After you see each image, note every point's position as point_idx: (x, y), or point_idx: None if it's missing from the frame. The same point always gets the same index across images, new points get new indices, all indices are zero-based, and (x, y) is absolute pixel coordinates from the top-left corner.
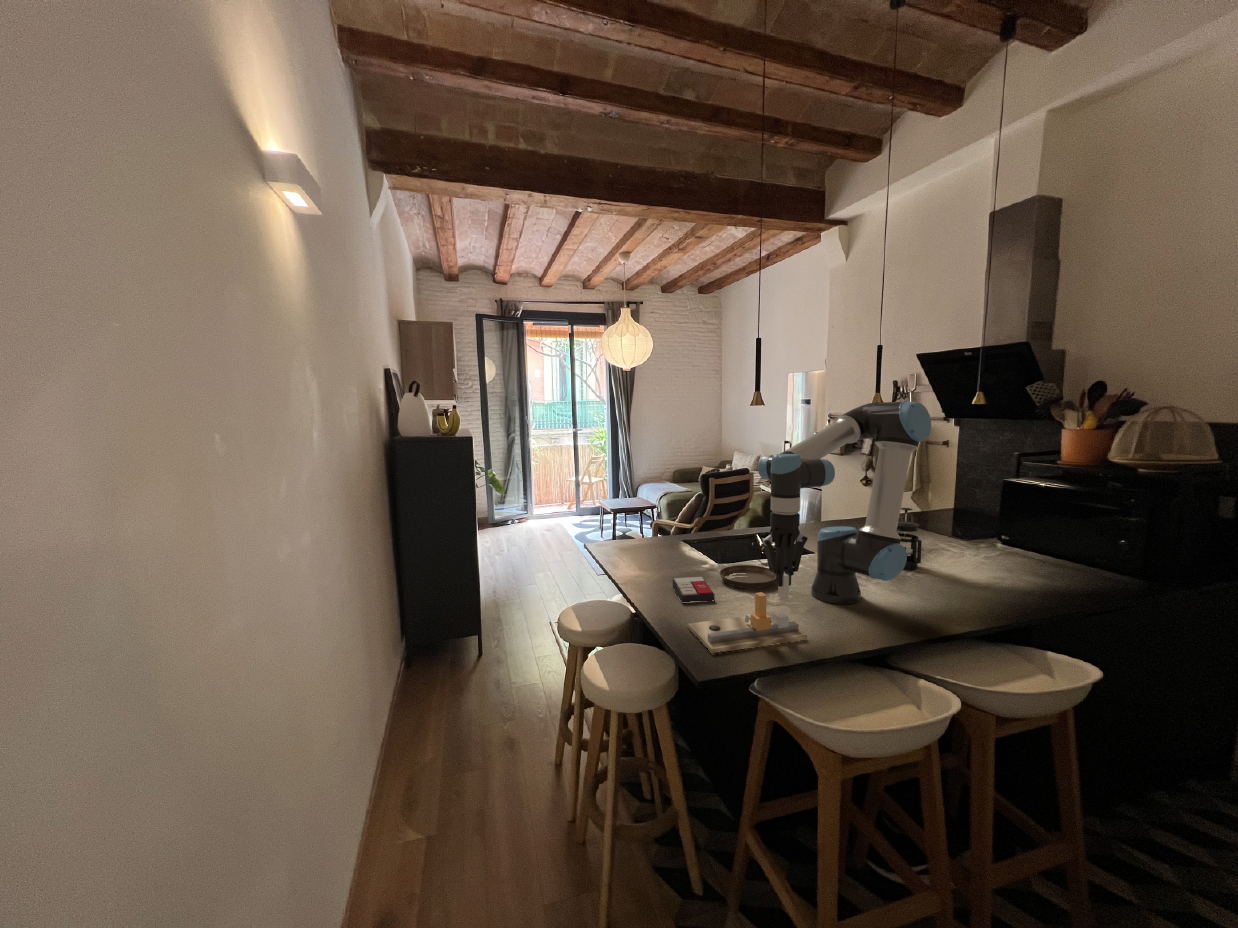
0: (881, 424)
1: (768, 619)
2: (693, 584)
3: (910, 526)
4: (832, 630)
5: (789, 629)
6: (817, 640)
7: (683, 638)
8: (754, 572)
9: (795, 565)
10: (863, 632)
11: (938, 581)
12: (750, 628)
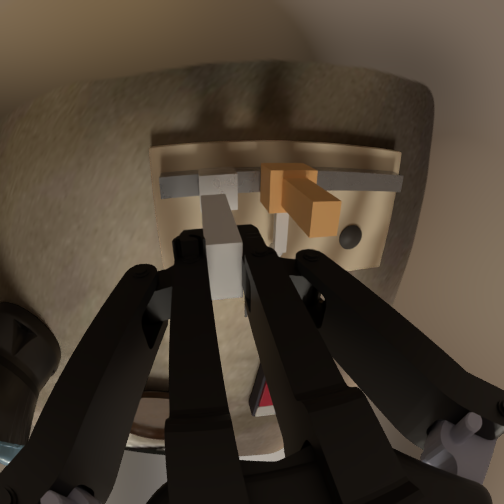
0: None
1: (277, 168)
2: None
3: None
4: (65, 190)
5: (190, 172)
6: (126, 140)
7: (399, 226)
8: (141, 426)
9: (145, 292)
10: (13, 171)
11: None
12: None
